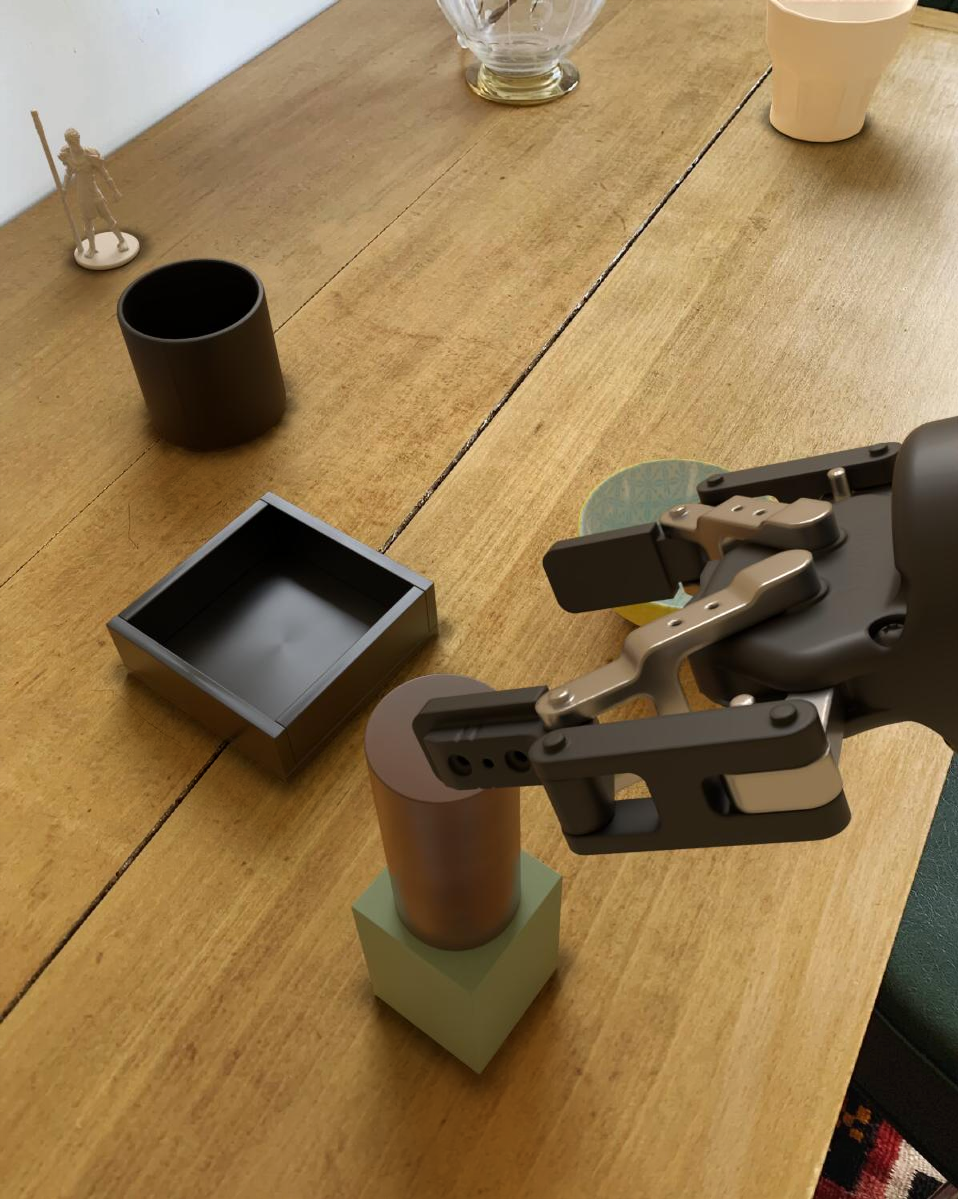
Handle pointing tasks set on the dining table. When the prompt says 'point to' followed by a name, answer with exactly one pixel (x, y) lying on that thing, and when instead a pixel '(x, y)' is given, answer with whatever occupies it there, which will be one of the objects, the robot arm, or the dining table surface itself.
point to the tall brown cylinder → (441, 828)
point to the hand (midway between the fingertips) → (498, 653)
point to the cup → (830, 62)
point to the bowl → (645, 511)
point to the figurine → (89, 203)
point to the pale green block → (464, 966)
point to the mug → (203, 352)
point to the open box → (277, 632)
